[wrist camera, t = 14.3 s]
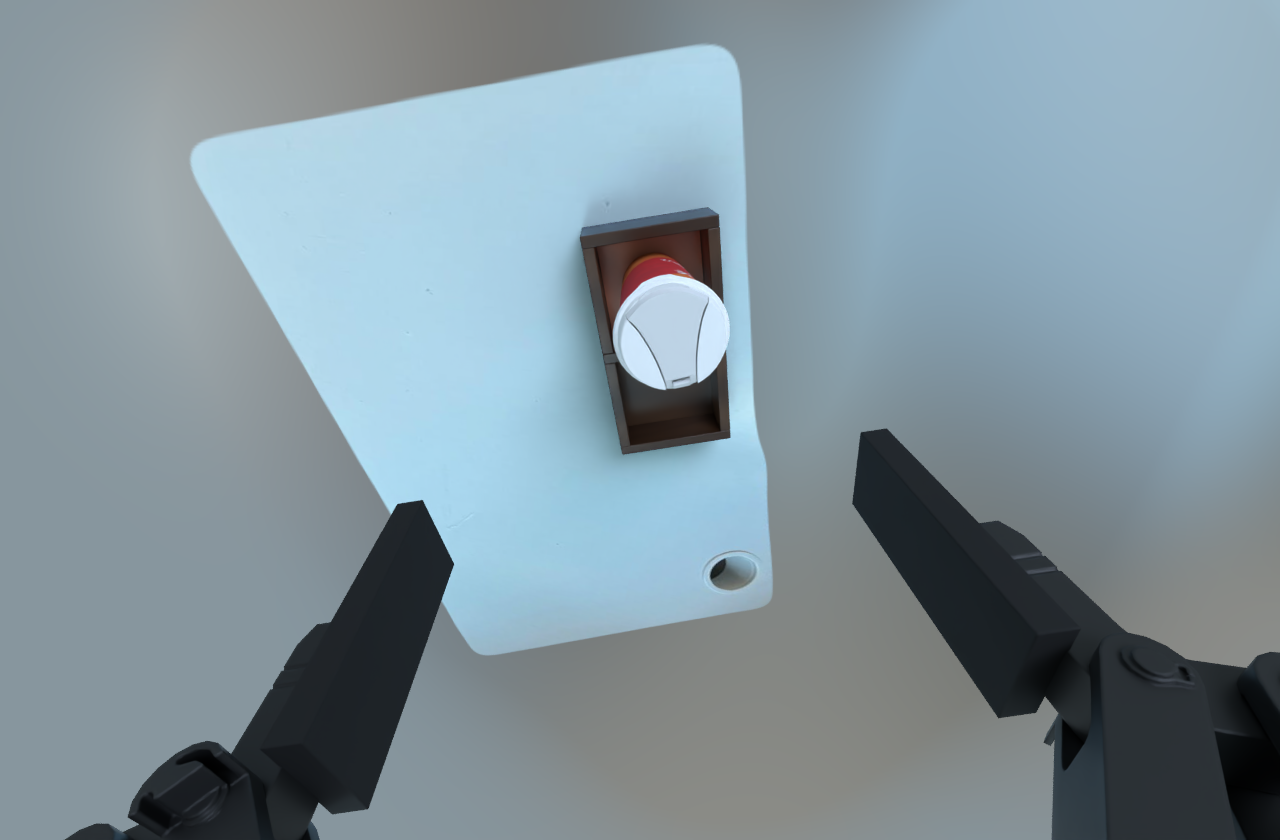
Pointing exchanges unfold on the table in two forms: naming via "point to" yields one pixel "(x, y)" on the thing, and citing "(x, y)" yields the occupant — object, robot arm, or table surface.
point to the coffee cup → (668, 324)
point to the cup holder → (607, 255)
